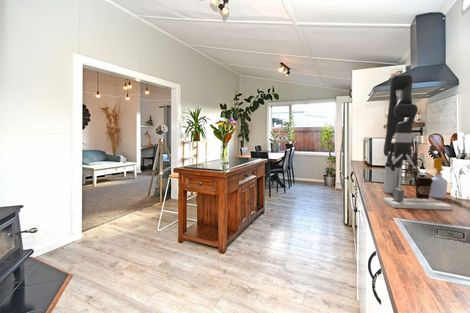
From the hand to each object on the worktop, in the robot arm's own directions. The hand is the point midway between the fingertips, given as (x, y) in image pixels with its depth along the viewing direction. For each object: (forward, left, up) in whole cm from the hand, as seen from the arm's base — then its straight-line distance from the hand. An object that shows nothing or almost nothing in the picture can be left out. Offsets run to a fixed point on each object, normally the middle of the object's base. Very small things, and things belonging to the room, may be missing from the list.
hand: (401, 171), depth 136 cm
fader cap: (0, 0, -16) cm, 16 cm away
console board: (0, +9, -19) cm, 21 cm away
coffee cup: (-14, +21, -19) cm, 32 cm away
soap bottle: (-21, +33, -19) cm, 43 cm away
